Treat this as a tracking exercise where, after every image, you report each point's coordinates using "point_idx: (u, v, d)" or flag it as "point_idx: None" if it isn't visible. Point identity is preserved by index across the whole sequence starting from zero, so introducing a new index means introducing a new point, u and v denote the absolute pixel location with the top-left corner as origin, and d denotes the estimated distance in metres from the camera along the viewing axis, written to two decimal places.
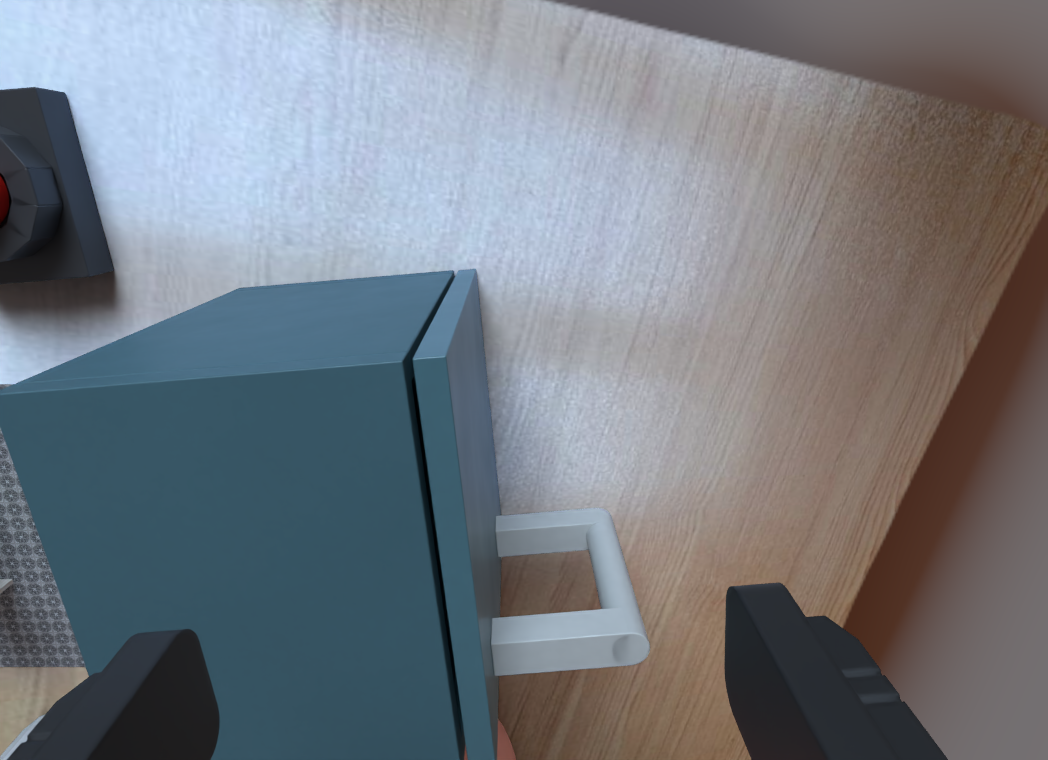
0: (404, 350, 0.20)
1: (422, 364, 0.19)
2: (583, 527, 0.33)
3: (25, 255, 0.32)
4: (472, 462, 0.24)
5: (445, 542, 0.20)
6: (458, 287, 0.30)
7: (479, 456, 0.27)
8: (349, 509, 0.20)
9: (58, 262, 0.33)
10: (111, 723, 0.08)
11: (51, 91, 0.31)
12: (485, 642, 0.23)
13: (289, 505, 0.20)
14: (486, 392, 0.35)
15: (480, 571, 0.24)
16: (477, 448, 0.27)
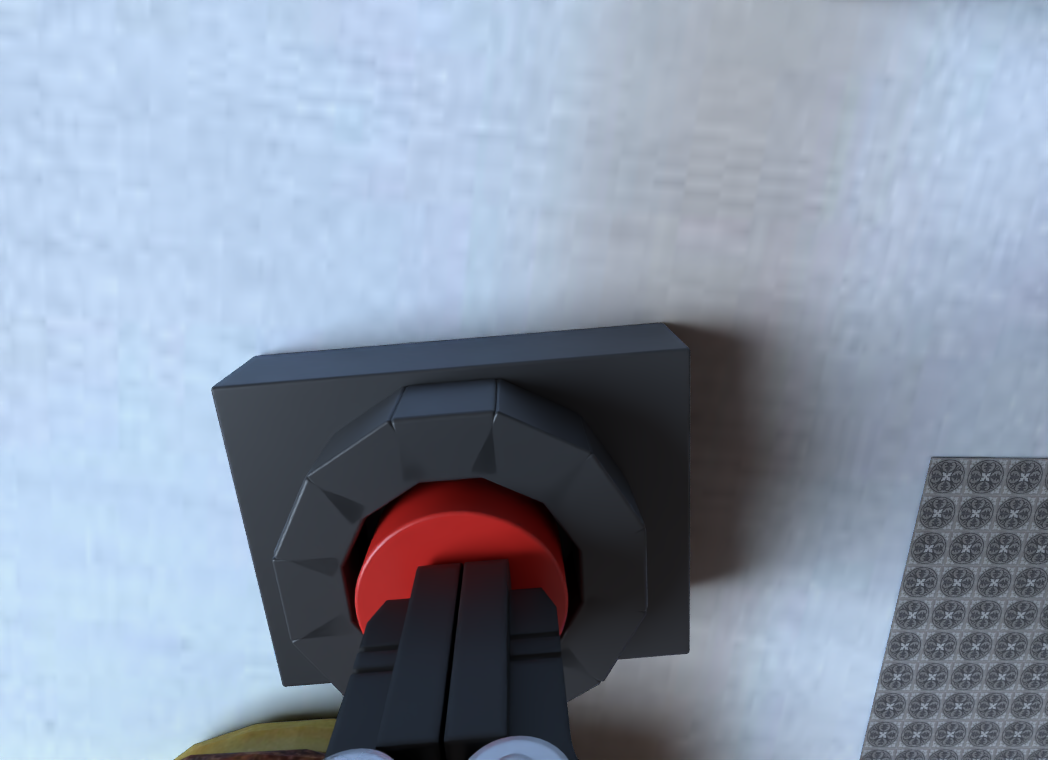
0: None
1: None
2: None
3: (627, 487, 0.12)
4: None
5: None
6: None
7: None
8: None
9: (646, 419, 0.12)
10: (448, 632, 0.09)
11: (237, 369, 0.13)
12: None
13: None
14: None
15: None
16: None
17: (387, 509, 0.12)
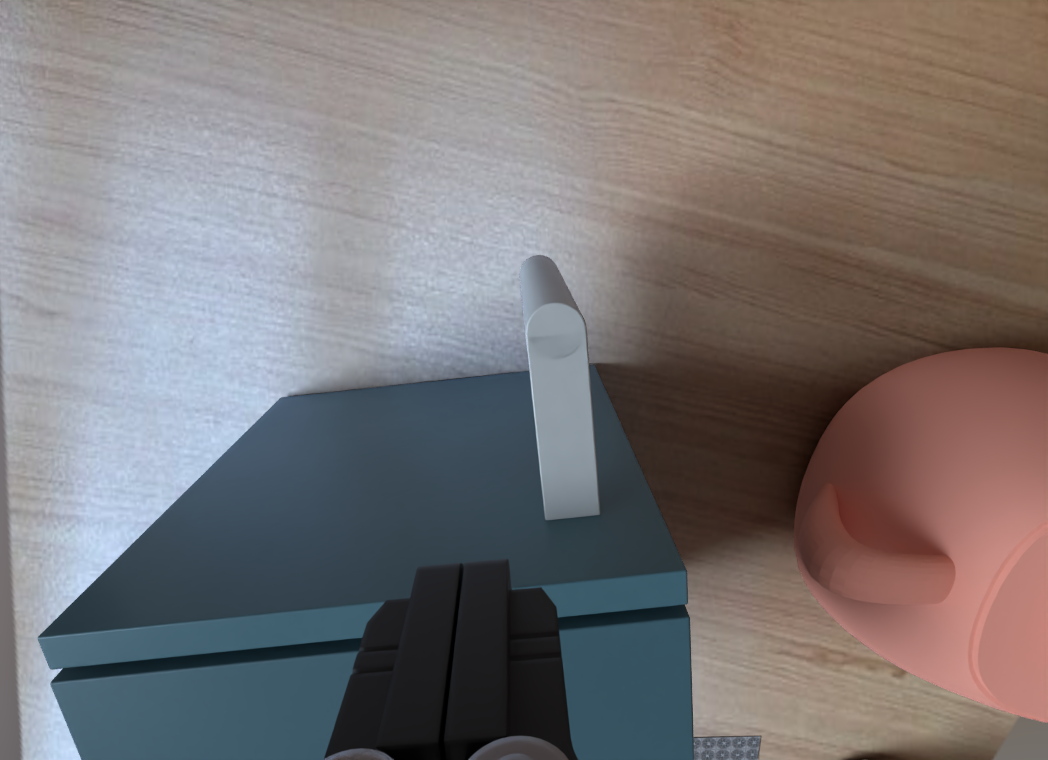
0: None
1: (54, 660, 0.16)
2: None
3: None
4: (298, 530, 0.19)
5: (291, 636, 0.16)
6: None
7: (361, 478, 0.22)
8: (253, 735, 0.17)
9: None
10: (448, 632, 0.09)
11: None
12: None
13: None
14: (402, 396, 0.31)
15: (413, 545, 0.18)
16: (340, 487, 0.22)
17: None
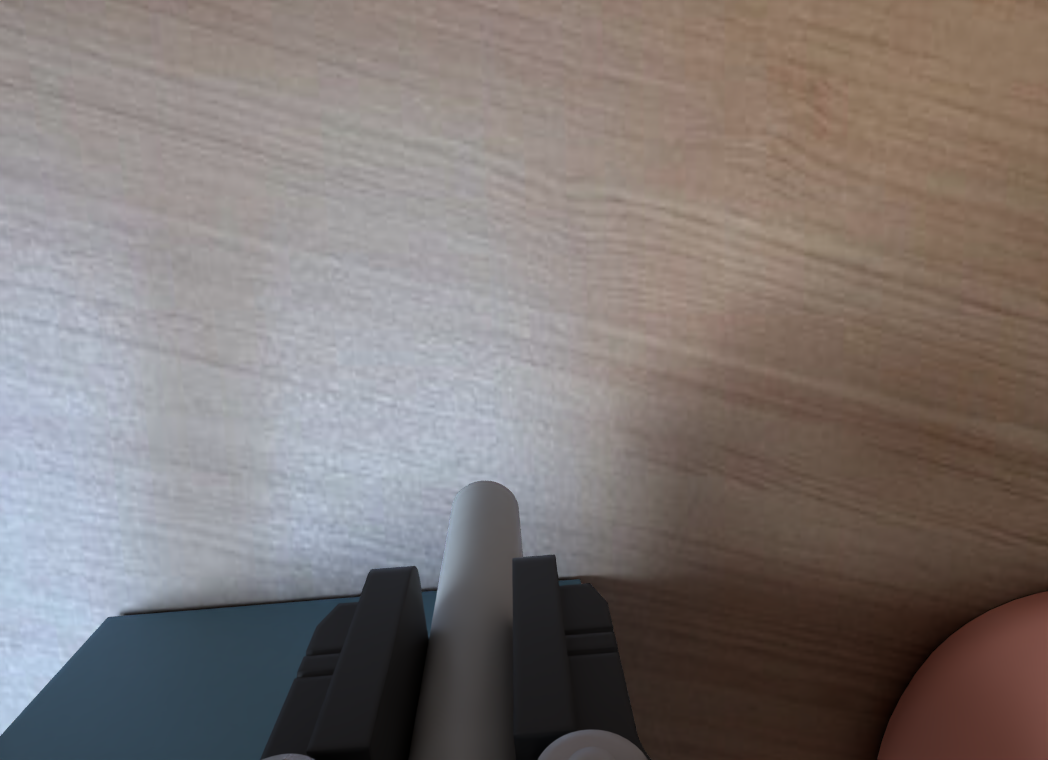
0: None
1: None
2: None
3: None
4: None
5: None
6: None
7: None
8: None
9: None
10: (392, 636, 0.09)
11: None
12: None
13: None
14: (280, 642, 0.20)
15: None
16: None
17: None
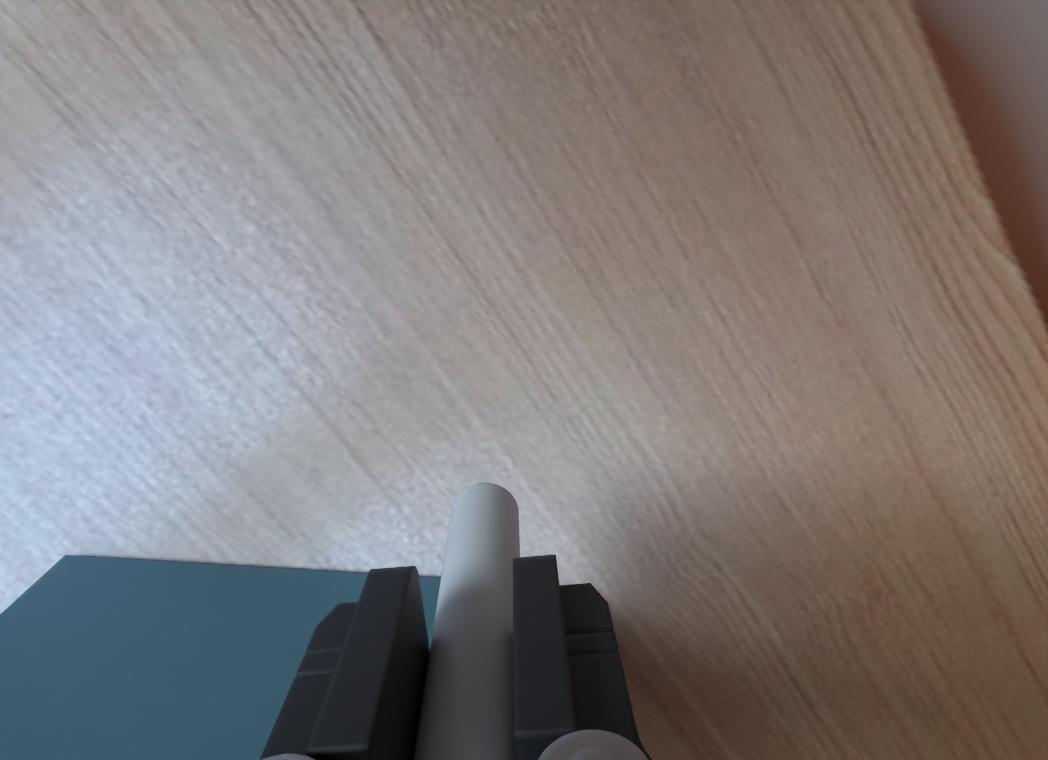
0: None
1: None
2: None
3: None
4: None
5: None
6: None
7: None
8: None
9: None
10: (392, 636, 0.09)
11: None
12: None
13: None
14: (245, 607, 0.19)
15: None
16: None
17: None
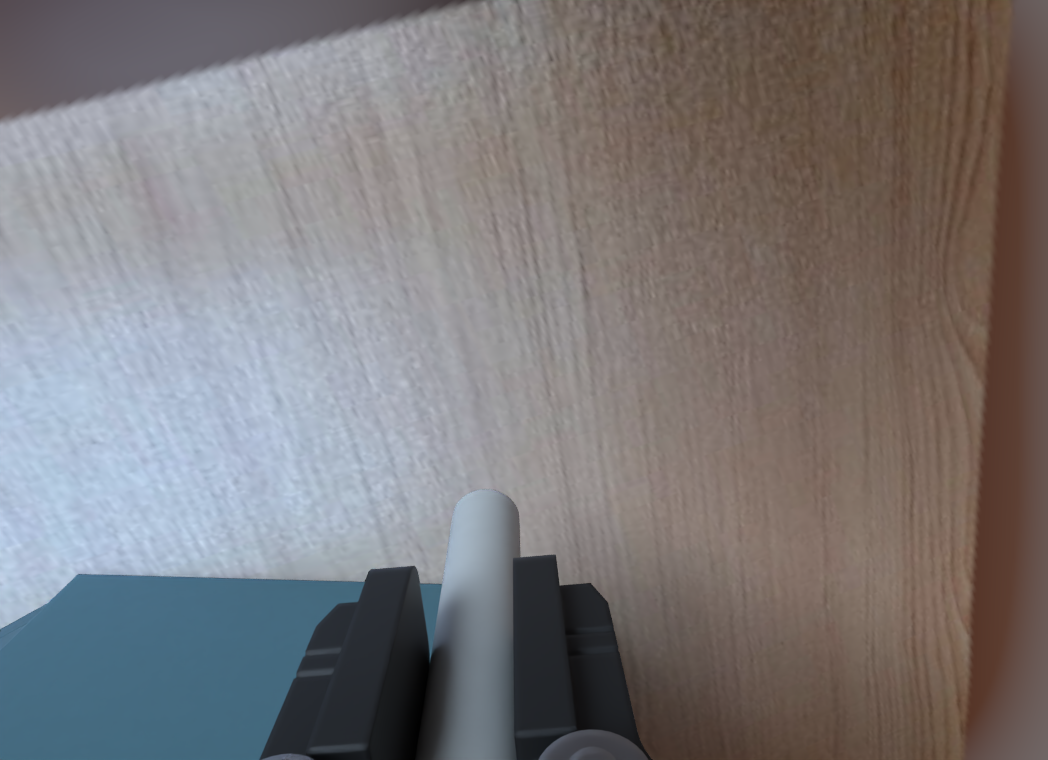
0: None
1: None
2: None
3: None
4: None
5: None
6: None
7: None
8: None
9: None
10: (392, 636, 0.09)
11: None
12: None
13: None
14: (255, 620, 0.20)
15: None
16: None
17: None
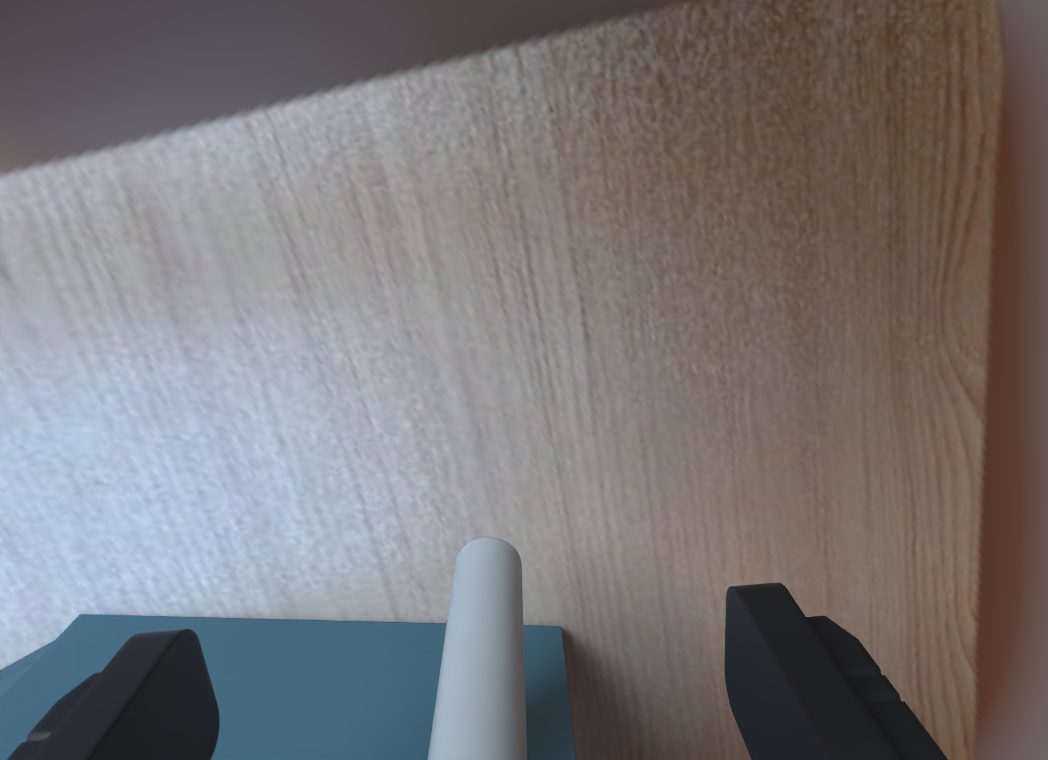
0: None
1: None
2: None
3: None
4: None
5: None
6: None
7: None
8: None
9: None
10: (111, 723, 0.08)
11: None
12: None
13: None
14: (257, 662, 0.20)
15: None
16: None
17: None
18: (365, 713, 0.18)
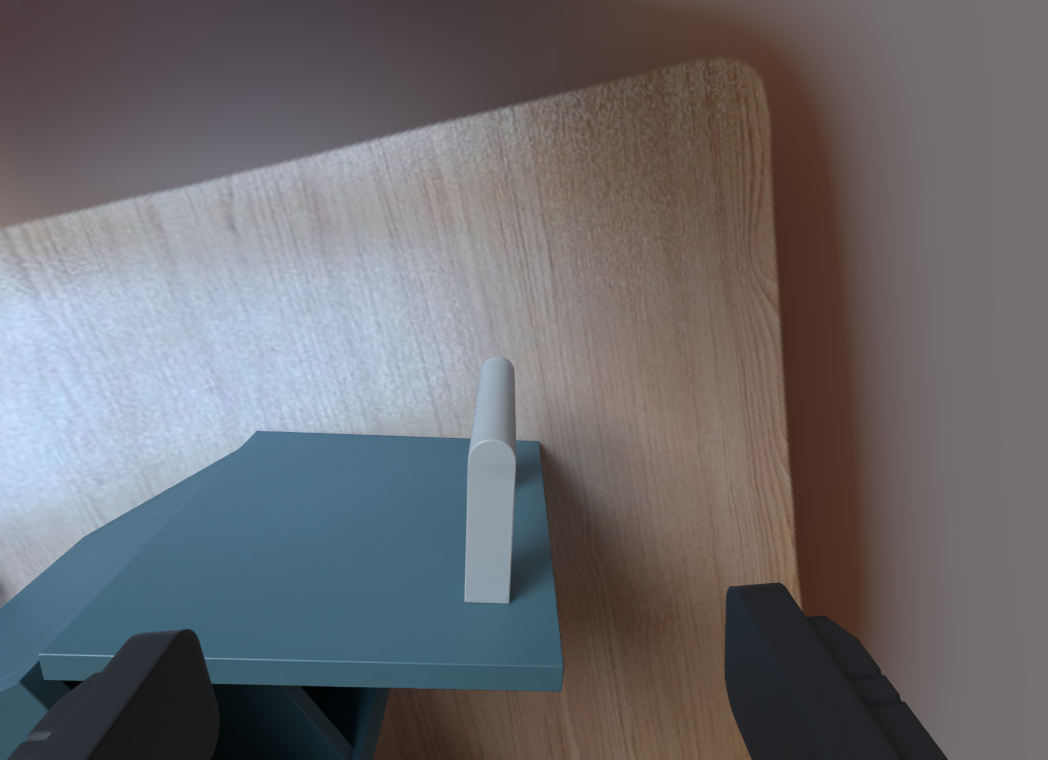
0: None
1: (48, 673, 0.20)
2: None
3: None
4: (260, 580, 0.23)
5: (245, 678, 0.20)
6: None
7: (319, 534, 0.26)
8: None
9: None
10: (111, 723, 0.08)
11: None
12: (414, 634, 0.21)
13: None
14: (365, 449, 0.35)
15: (353, 610, 0.22)
16: (300, 541, 0.26)
17: None
18: (429, 466, 0.33)
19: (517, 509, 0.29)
